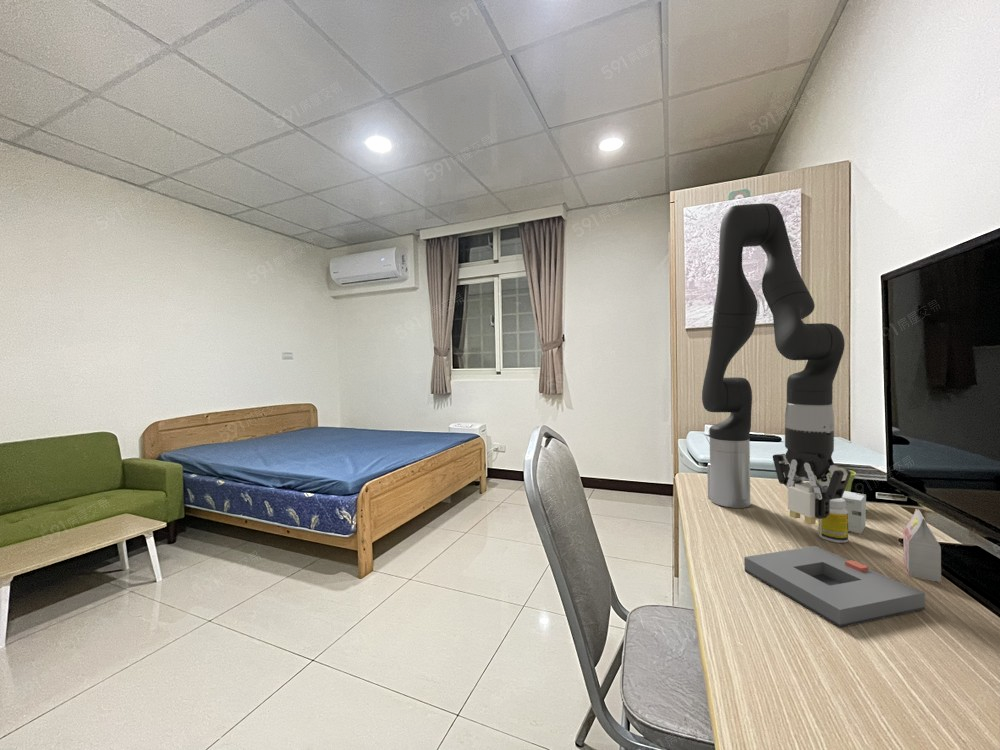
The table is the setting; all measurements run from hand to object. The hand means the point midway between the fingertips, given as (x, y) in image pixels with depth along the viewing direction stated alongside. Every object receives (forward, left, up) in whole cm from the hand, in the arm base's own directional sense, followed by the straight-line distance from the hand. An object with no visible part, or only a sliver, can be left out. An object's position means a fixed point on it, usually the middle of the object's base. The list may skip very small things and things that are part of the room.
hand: (808, 512), depth 78 cm
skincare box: (-7, +19, -8) cm, 21 cm away
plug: (0, 0, -1) cm, 1 cm away
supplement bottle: (-3, +10, -8) cm, 12 cm away
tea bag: (+11, +11, -8) cm, 17 cm away
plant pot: (-19, +31, -8) cm, 37 cm away
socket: (+11, -10, -7) cm, 17 cm away
